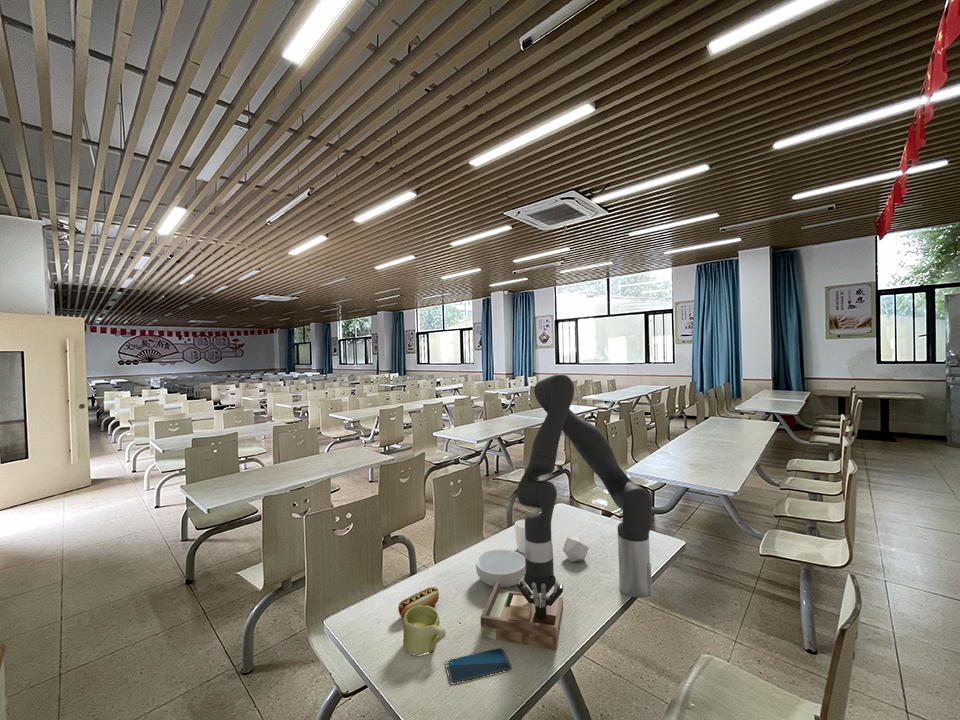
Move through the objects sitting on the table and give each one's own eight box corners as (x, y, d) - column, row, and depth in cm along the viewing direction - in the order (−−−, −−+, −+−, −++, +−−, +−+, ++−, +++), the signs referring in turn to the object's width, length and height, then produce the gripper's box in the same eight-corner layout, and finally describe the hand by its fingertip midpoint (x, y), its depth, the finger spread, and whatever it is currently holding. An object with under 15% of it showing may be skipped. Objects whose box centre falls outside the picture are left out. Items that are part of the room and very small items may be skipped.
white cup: (520, 555, 156) (519, 529, 156) (512, 546, 164) (512, 521, 164) (539, 552, 158) (538, 525, 158) (531, 543, 166) (530, 518, 166)
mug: (388, 640, 110) (401, 602, 110) (419, 633, 117) (431, 598, 117) (413, 674, 101) (427, 633, 101) (445, 665, 108) (457, 627, 108)
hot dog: (443, 605, 127) (442, 589, 127) (405, 625, 118) (404, 608, 118) (433, 598, 131) (432, 583, 131) (396, 617, 122) (395, 600, 122)
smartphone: (512, 671, 100) (512, 667, 100) (450, 687, 96) (450, 683, 96) (502, 650, 108) (502, 646, 108) (444, 663, 104) (444, 660, 104)
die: (586, 568, 146) (595, 541, 150) (564, 557, 146) (573, 530, 150) (577, 566, 154) (586, 540, 158) (556, 555, 154) (565, 530, 158)
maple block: (532, 614, 116) (531, 596, 116) (529, 626, 111) (528, 607, 111) (514, 612, 118) (513, 594, 118) (510, 623, 113) (509, 605, 113)
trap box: (563, 607, 124) (562, 589, 124) (556, 649, 107) (556, 628, 106) (497, 598, 129) (496, 581, 129) (481, 637, 112) (480, 617, 112)
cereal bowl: (520, 599, 129) (519, 577, 128) (469, 591, 134) (468, 569, 134) (531, 571, 145) (530, 551, 145) (485, 565, 150) (485, 546, 150)
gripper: (565, 550, 114) (567, 613, 115) (517, 545, 118) (519, 606, 118) (562, 563, 107) (564, 630, 107) (511, 558, 111) (514, 623, 111)
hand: (541, 618), depth 113 cm, fingers closed
